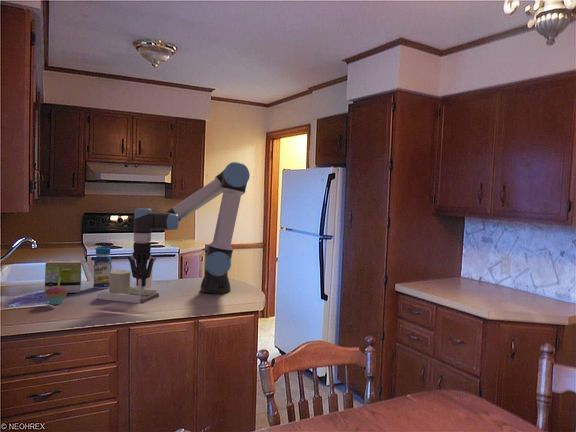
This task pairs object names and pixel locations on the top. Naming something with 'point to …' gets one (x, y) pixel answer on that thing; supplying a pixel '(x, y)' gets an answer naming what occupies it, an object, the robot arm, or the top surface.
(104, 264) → the beverage bottle
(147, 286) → the white cup
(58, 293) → the cupcake
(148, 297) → the trap pocket
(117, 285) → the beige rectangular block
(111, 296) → the tube channel
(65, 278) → the tea box
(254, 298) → the top surface
